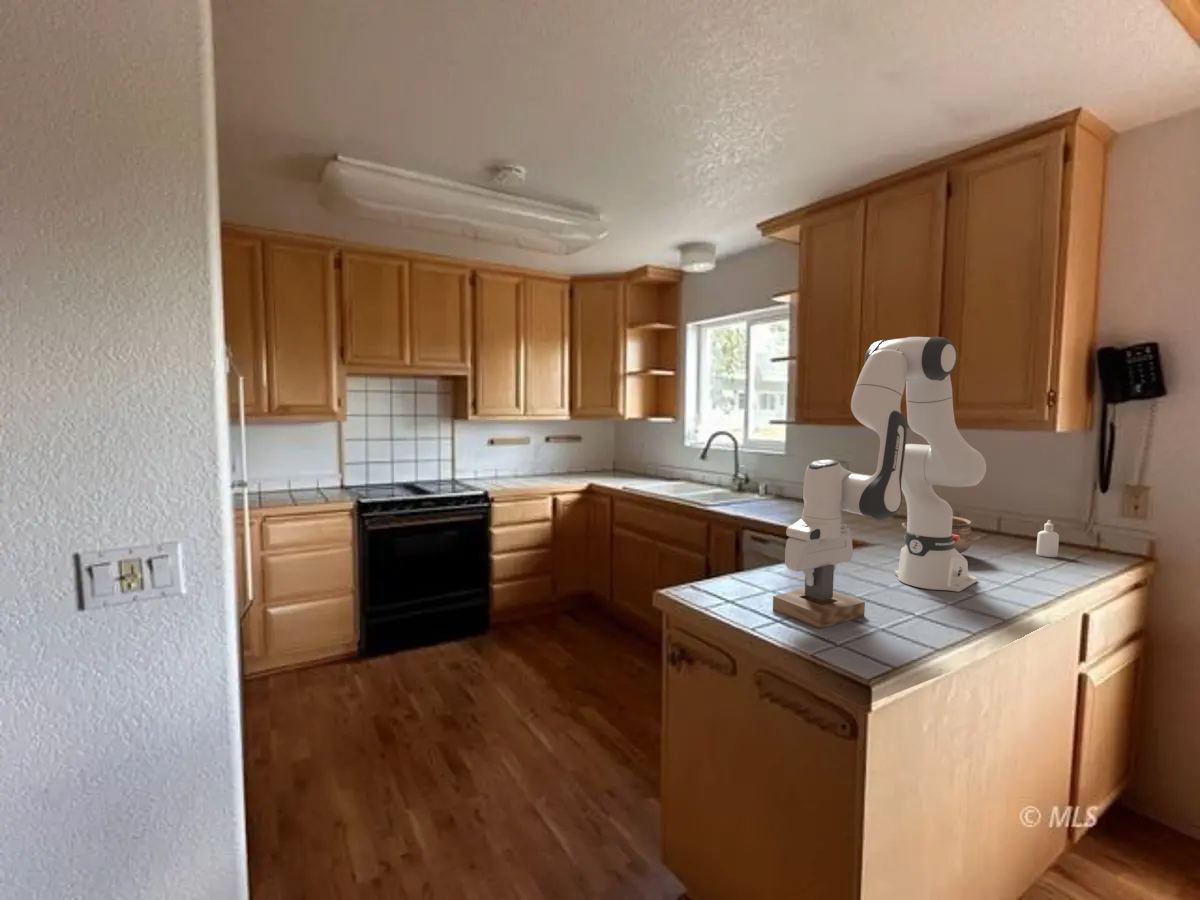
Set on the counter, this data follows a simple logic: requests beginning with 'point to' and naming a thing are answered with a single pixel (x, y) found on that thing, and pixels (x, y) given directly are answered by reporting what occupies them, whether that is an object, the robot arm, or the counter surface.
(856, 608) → the dock
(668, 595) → the counter surface
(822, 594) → the block
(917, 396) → the robot arm
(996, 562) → the counter surface
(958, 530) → the cooking pot
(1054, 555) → the eye dropper bottle
